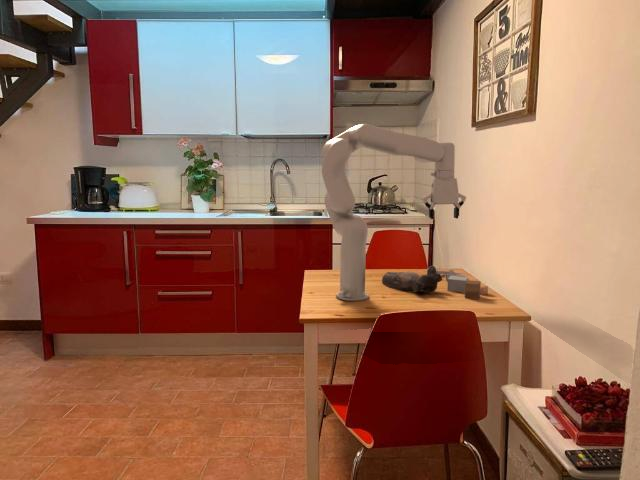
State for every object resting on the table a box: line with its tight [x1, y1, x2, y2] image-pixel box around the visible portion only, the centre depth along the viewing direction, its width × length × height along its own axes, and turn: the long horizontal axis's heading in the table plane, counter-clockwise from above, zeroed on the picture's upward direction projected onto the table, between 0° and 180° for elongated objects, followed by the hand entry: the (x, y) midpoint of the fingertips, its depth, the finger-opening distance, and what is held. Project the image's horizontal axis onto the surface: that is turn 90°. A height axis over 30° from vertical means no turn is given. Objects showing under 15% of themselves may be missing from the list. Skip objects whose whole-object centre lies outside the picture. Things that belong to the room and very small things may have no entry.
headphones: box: [424, 265, 467, 283], centre depth 214 cm, size 17×6×20 cm
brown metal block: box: [464, 279, 481, 300], centre depth 182 cm, size 5×5×6 cm
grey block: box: [446, 276, 469, 293], centre depth 194 cm, size 7×7×5 cm
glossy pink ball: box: [480, 285, 489, 296], centre depth 187 cm, size 4×4×3 cm
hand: (444, 218), depth 188 cm, fingers open, 9 cm apart
